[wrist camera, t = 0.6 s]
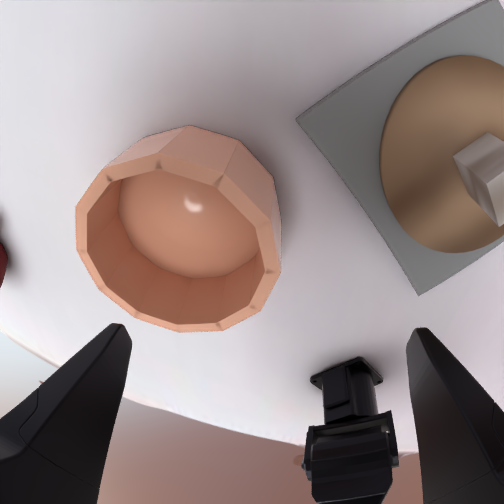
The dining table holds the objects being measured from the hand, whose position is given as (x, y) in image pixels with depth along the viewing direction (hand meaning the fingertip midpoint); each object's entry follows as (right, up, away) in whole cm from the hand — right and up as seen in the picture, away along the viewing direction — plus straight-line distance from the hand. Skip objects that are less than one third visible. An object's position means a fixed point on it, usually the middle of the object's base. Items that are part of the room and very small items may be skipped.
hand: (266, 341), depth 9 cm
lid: (+14, +9, +7) cm, 18 cm away
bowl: (-5, +5, +12) cm, 14 cm away
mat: (+14, +9, +8) cm, 19 cm away
